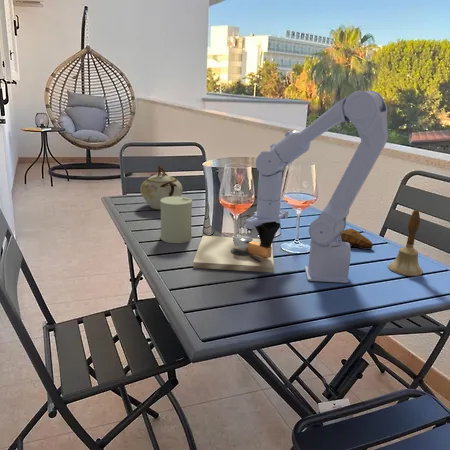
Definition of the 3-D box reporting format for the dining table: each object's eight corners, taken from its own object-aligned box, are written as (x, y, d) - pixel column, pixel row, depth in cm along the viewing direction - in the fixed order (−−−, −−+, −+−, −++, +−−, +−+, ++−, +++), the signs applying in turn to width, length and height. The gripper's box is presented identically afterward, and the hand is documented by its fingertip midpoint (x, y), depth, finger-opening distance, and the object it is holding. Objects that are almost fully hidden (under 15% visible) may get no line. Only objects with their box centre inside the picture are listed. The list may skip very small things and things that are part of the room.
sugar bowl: (132, 202, 169) (131, 162, 164) (169, 198, 176) (169, 160, 171) (152, 216, 153) (152, 172, 148) (192, 211, 160) (192, 169, 155)
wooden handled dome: (229, 250, 120) (229, 238, 119) (241, 245, 123) (241, 234, 122) (263, 261, 113) (263, 249, 112) (274, 256, 117) (275, 244, 116)
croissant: (323, 241, 135) (325, 225, 133) (334, 236, 140) (336, 221, 138) (366, 253, 127) (368, 236, 125) (376, 247, 132) (378, 231, 130)
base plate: (271, 244, 131) (271, 238, 130) (273, 272, 112) (273, 266, 111) (202, 240, 132) (202, 234, 131) (193, 267, 113) (193, 261, 112)
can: (195, 241, 131) (196, 201, 127) (164, 244, 128) (164, 203, 124) (186, 231, 139) (186, 193, 135) (157, 234, 136) (156, 195, 132)
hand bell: (424, 268, 118) (435, 209, 113) (419, 279, 111) (431, 217, 106) (391, 261, 122) (401, 203, 117) (385, 271, 115) (394, 211, 110)
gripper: (274, 191, 121) (271, 238, 125) (237, 199, 111) (235, 251, 115) (296, 196, 116) (291, 245, 120) (259, 205, 106) (255, 259, 110)
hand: (265, 249), depth 117 cm, fingers closed, pressing on wooden handled dome
